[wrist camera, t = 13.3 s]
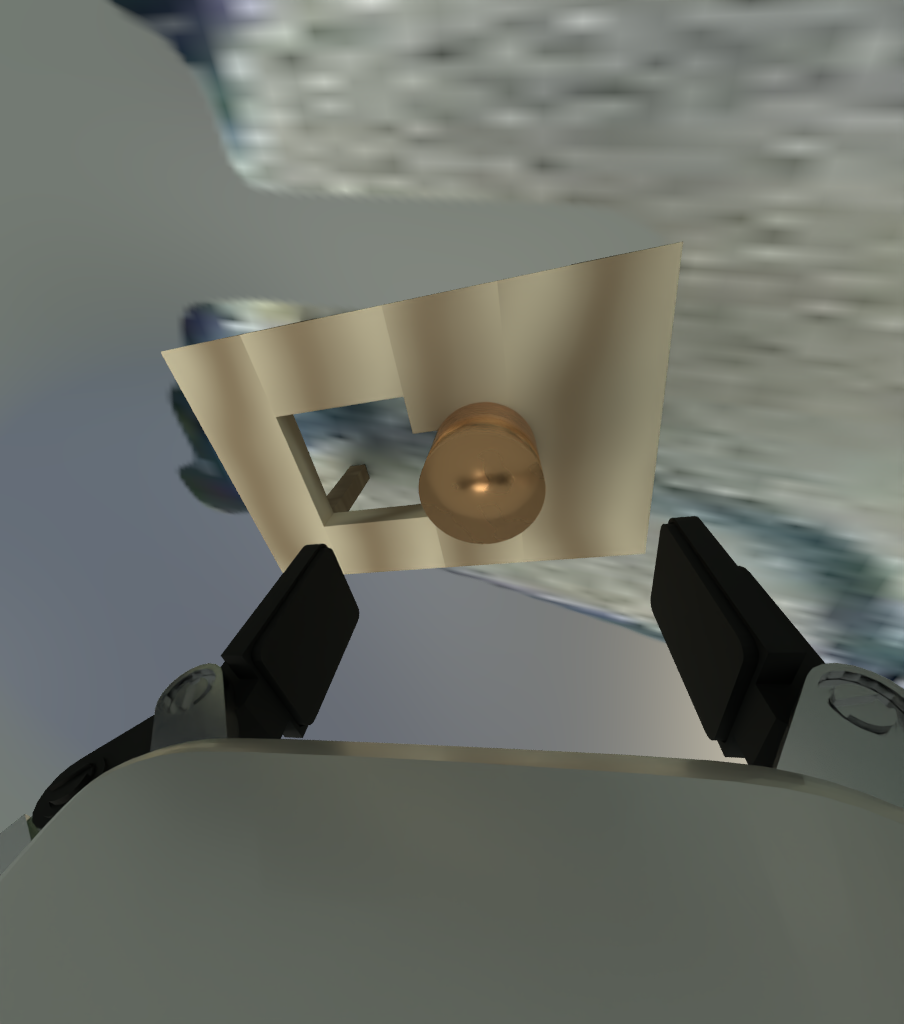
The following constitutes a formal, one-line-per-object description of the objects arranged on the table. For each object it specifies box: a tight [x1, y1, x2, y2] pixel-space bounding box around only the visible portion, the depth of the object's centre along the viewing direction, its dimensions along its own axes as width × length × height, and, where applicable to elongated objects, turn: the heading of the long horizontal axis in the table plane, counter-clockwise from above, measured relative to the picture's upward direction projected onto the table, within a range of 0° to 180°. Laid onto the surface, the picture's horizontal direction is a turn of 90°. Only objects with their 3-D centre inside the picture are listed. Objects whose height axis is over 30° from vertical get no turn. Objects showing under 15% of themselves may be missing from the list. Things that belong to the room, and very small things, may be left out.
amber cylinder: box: [419, 402, 546, 544], centre depth 20 cm, size 5×5×14 cm
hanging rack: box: [161, 242, 683, 574], centre depth 24 cm, size 22×14×14 cm, turn 101°
